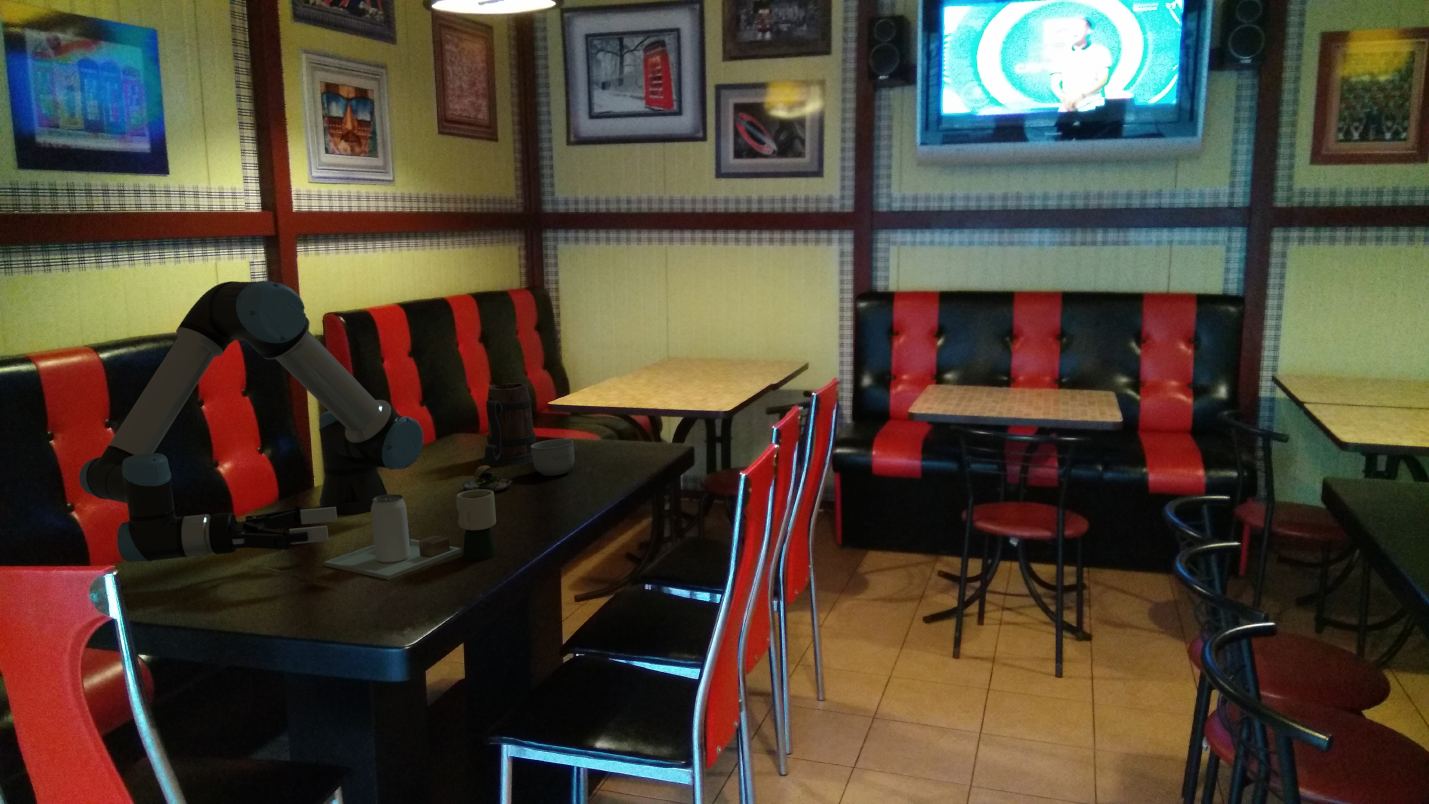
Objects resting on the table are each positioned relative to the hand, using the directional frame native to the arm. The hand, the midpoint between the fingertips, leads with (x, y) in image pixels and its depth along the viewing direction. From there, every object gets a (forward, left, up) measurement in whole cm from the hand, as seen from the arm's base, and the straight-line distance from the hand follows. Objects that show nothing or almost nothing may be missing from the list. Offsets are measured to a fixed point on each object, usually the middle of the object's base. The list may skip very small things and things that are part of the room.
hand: (332, 523), depth 209 cm
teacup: (-13, +78, -9) cm, 80 cm away
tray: (+7, +7, -9) cm, 14 cm away
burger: (-17, +57, -9) cm, 60 cm away
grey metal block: (+2, +13, -8) cm, 15 cm away
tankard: (-34, +82, -9) cm, 89 cm away
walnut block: (+13, +13, -8) cm, 20 cm away
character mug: (+21, +16, -9) cm, 28 cm away
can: (+7, +7, -8) cm, 13 cm away
